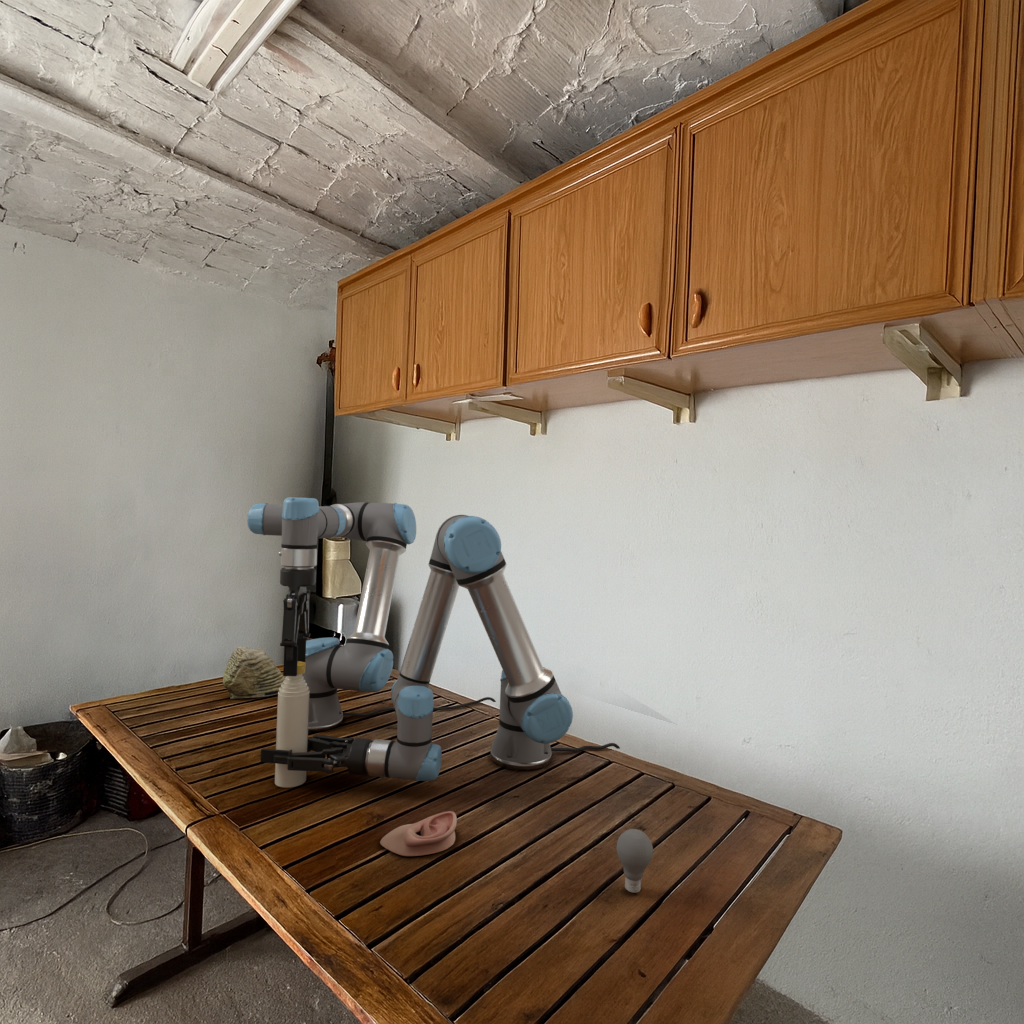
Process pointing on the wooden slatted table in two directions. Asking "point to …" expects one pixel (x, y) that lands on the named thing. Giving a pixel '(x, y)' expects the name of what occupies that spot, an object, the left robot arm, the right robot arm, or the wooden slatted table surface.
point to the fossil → (251, 674)
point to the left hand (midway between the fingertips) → (294, 670)
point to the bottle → (292, 727)
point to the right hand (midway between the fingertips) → (270, 748)
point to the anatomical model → (422, 836)
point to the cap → (301, 667)
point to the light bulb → (634, 857)
